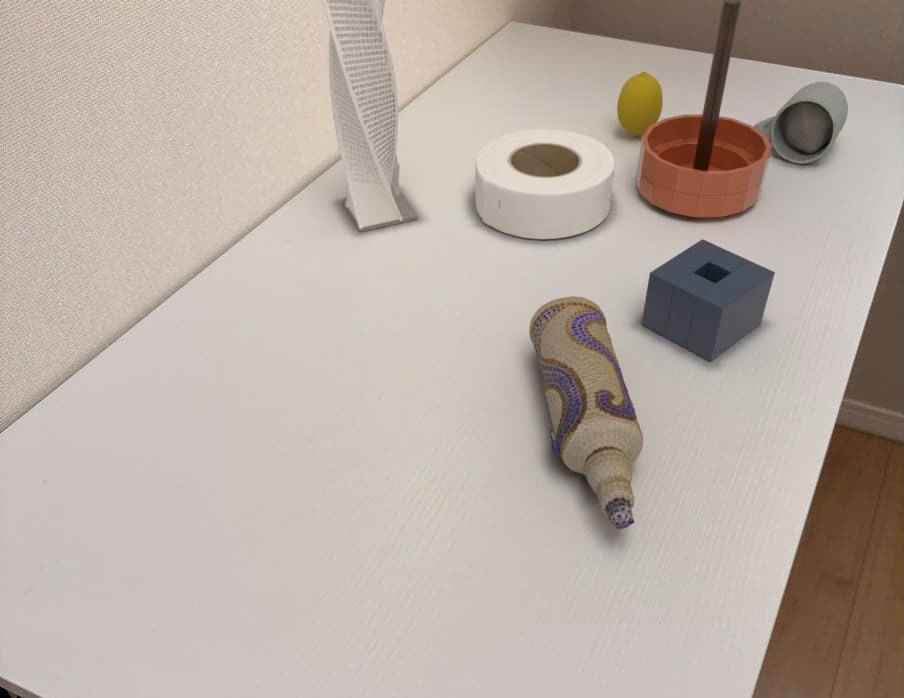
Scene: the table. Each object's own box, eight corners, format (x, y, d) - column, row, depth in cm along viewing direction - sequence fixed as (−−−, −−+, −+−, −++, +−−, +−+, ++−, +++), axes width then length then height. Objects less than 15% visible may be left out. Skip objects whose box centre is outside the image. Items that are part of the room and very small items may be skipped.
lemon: (628, 122, 123) (636, 58, 117) (665, 134, 121) (675, 70, 115) (605, 138, 120) (612, 73, 114) (642, 151, 118) (651, 85, 112)
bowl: (782, 191, 111) (795, 141, 106) (710, 237, 104) (721, 186, 100) (684, 151, 118) (692, 103, 113) (611, 192, 111) (617, 142, 107)
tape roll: (446, 203, 110) (445, 157, 106) (541, 158, 117) (544, 114, 113) (541, 257, 102) (544, 210, 98) (638, 206, 109) (644, 160, 105)
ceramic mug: (841, 142, 118) (859, 79, 113) (825, 170, 114) (843, 106, 108) (758, 126, 122) (772, 64, 116) (739, 153, 117) (752, 90, 112)
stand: (760, 324, 94) (775, 272, 89) (710, 362, 90) (722, 308, 85) (691, 290, 98) (702, 238, 93) (641, 324, 94) (649, 272, 89)
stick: (708, 185, 110) (745, -1, 95) (698, 191, 109) (734, 4, 94) (695, 180, 111) (730, -5, 96) (686, 186, 110) (720, 0, 95)
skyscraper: (422, 225, 107) (410, -54, 86) (354, 240, 105) (325, -41, 84) (398, 191, 112) (380, -80, 91) (333, 205, 110) (299, -69, 89)
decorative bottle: (524, 353, 91) (527, 294, 86) (601, 349, 91) (609, 290, 86) (566, 555, 74) (574, 496, 69) (661, 549, 74) (675, 490, 69)
